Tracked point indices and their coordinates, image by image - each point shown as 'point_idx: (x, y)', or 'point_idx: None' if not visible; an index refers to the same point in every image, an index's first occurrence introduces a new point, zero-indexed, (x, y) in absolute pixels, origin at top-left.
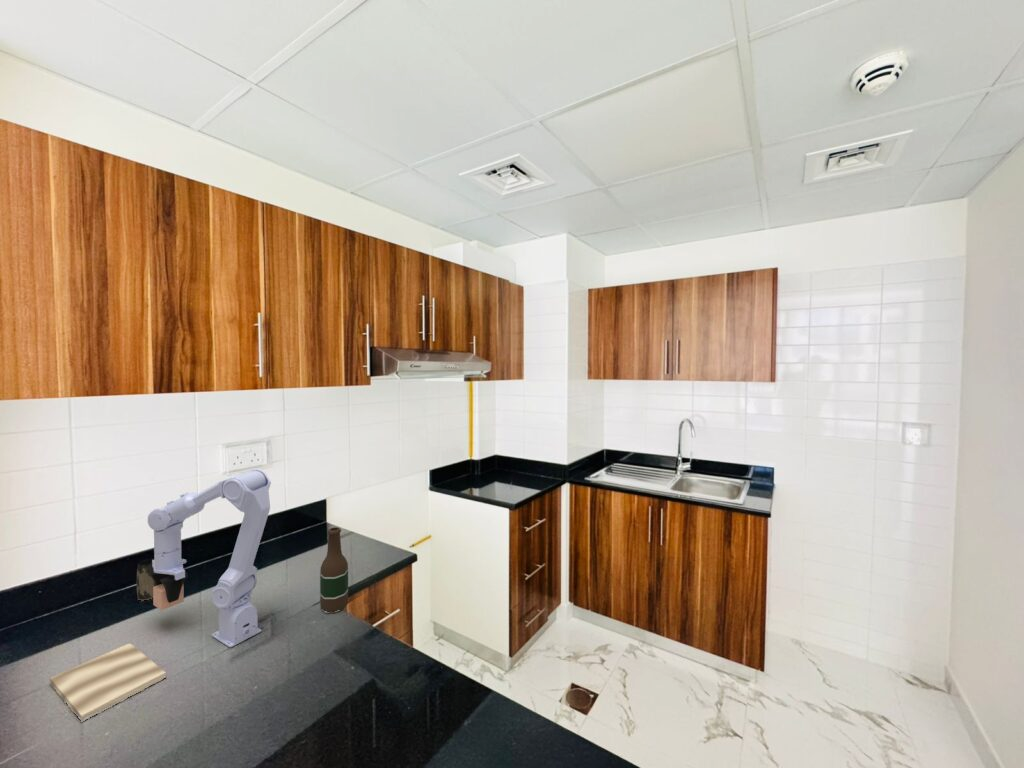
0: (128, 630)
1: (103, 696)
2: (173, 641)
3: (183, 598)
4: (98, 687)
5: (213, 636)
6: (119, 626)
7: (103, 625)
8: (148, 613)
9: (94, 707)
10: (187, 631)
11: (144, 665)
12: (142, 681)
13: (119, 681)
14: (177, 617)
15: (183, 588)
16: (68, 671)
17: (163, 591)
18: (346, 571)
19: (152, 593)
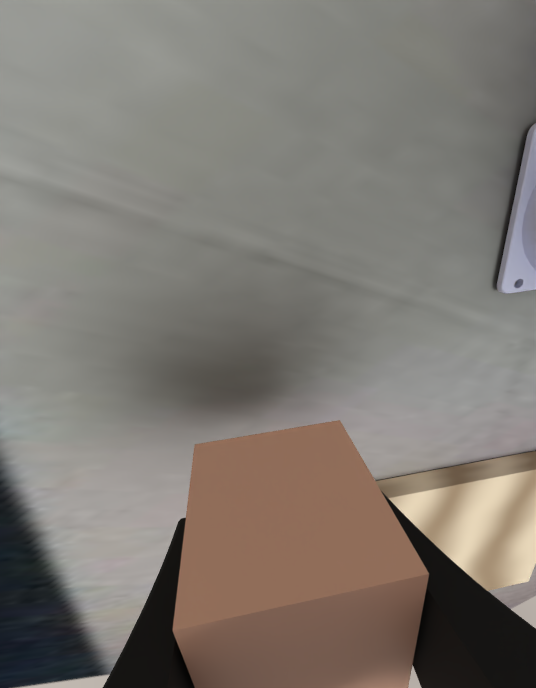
0: (143, 491)
1: (510, 558)
2: (382, 398)
3: (348, 437)
4: (464, 566)
5: (517, 291)
6: (75, 510)
7: (17, 546)
8: (18, 426)
9: (529, 568)
10: (358, 346)
11: (483, 495)
12: None
13: (488, 536)
14: (180, 345)
15: (394, 514)
16: None
17: (408, 681)
18: None
19: None
